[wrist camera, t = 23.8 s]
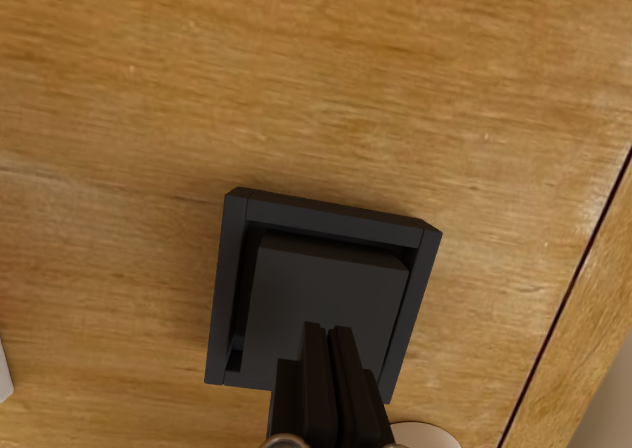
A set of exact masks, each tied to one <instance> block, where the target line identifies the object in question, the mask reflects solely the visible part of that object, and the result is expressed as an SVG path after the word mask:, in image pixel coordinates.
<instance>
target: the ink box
mask: <svg viewBox="0 0 632 448" xmlns="http://www.w3.org/2000/svg"><path fill="white" fill-rule="evenodd" d="M13 392H14V388H13V384H12V381H11V377H10V373H9V369H8V366H7V361H6V358H5V354H4V350H3V347H2V343H1V339H0V404H1V403H2V402H3V401H4V400H5V399H7V398H8V397H9V396H10V395H11V394H12V393H13Z"/></svg>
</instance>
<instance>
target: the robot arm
mask: <svg viewBox="0 0 632 448" xmlns="http://www.w3.org/2000/svg"><path fill="white" fill-rule="evenodd" d="M259 448H409V447H406V446H404V445H401V444H396V442H395V439H394V435H393V432H392V429H391V426H390V423H389V420H388V417H387V414H386V411H385V408H384V405H383V401H382V398H381V395H380V392H379V389H378V386H377V383H376V380H375V377H374V374H373V372H372V371H371V370H370V369H363V367H362V364H361V360H360V357H359V353H358V350H357V346H356V343H355V339H354V336H353V332H352V329H351V327H345V326H337V325H335V327H334V329H329V330H328V334H327V337H326V330H325V328H320V323H315V322H308V321H304V323H303V328H302V333H301V338H300V343H299V348H298V353H297V357H296V360H288V359H280V358H278V359H277V363H276V369H275V374H274V380H273V386H272V392H271V400H270V408H269V417H268V425H267V434H266V440H265V441H264V442H263V443H262V444H261V445H260V446H259Z"/></svg>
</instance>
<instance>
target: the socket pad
mask: <svg viewBox="0 0 632 448" xmlns="http://www.w3.org/2000/svg"><path fill="white" fill-rule="evenodd" d="M266 229H273V230H279V231H285V232H291V233H297V234H303V235H309V236H315V237H321V238H327V239H333V240H338V241H344V242H350V243H356V244H362V245H368V246H374V247H380V248H386V249H391V251H392V252H393V253H394V254H395V255H396V256H397V258H398V259H399V260H400V261H401V262H402V264H403V265H404V266H405V267H406V268H407V269H408V271H409V274H408V278H407V281H406V285H405V288H404V291H403V295H402V298H401V302H400V305H399V309H398V312H397V315H396V319H395V322H394V326H393V329H392V333H391V336H390V339H389V343H388V346H387V350H386V353H385V356H384V360H383V363H382V367H381V370H380V374H379V377H378V380H377V386H378V389H379V392H380V395H381V398H382V401H383V404H390V401H391V398H392V395H393V392H394V388H395V385H396V382H397V379H398V376H399V372H400V369H401V366H402V363H403V360H404V356H405V353H406V350H407V347H408V343H409V340H410V337H411V334H412V331H413V327H414V324H415V321H416V318H417V315H418V311H419V308H420V305H421V302H422V299H423V295H424V292H425V289H426V286H427V283H428V279H429V276H430V273H431V270H432V267H433V263H434V260H435V257H436V254H437V251H438V247H439V244H440V241H441V238H442V234H443V233H442V232H441V231H439V230H438V229H436V228H435V227H433V226H431V225H430V224H428V223H427V222H425V221H423V220H422V219H417V218H411V217H406V216H400V215H395V214H389V213H383V212H378V211H372V210H367V209H361V208H355V207H350V206H344V205H339V204H333V203H328V202H322V201H316V200H311V199H305V198H300V197H294V196H288V195H283V194H277V193H272V192H266V191H260V190H255V189H249V188H244V187H236V188H235V189H233V190H232V191H230V192H228V193H227V194H226V195H225V200H224V209H223V218H222V227H221V236H220V244H219V253H218V262H217V271H216V280H215V289H214V298H213V307H212V316H211V325H210V334H209V342H208V351H207V360H206V369H205V378H204V383H205V384H214V385H223V384H224V385H225V386H233V387H241V388H250V389H259V390H268V391H272V386H273V381H268V380H259V379H251V378H242V377H240V369H241V362H242V356H243V349H244V342H245V335H246V329H247V322H248V315H249V309H250V302H251V295H252V288H253V282H254V275H255V268H256V261H257V255H258V248H259V246H260V243H261V241H262V238H263V236H264V233H265V231H266Z"/></svg>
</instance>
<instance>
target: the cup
mask: <svg viewBox="0 0 632 448" xmlns="http://www.w3.org/2000/svg"><path fill="white" fill-rule="evenodd" d="M390 426H391V429H392V432H393V435H394V439H395V442H396V444H401V445H404V446H406V447H409V448H461V447H460V445H459V443H458V442H457V441H456V439H455V438H454V437H453V436H452V435H450V434H449V433H448V432H446V431H444V430H443V429H441V428H439V427H436V426H433V425H430V424H425V423H418V422H405V423H397V424H392V425H390Z"/></svg>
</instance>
